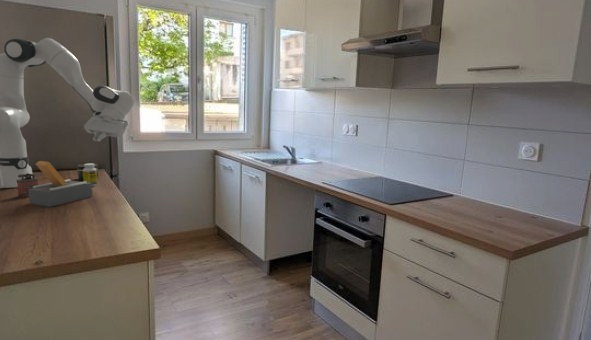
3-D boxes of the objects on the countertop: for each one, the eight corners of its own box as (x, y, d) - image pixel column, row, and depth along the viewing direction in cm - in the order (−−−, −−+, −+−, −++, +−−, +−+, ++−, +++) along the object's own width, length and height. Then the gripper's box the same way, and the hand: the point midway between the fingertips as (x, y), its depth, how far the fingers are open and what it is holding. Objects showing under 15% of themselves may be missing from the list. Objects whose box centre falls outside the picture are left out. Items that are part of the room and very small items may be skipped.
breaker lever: (53, 184, 165) (35, 164, 157) (56, 181, 166) (39, 160, 158) (63, 186, 163) (45, 165, 155) (66, 182, 164) (49, 161, 156)
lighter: (38, 193, 176) (36, 171, 175) (40, 194, 174) (38, 173, 172) (17, 196, 171) (15, 173, 169) (18, 197, 169) (16, 175, 167)
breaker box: (29, 203, 159) (27, 186, 158) (73, 193, 177) (72, 178, 176) (49, 206, 155) (47, 189, 153) (92, 196, 173) (91, 180, 172)
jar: (102, 178, 214) (101, 164, 213) (86, 181, 205) (85, 167, 204) (90, 176, 218) (89, 163, 217) (74, 179, 209) (72, 165, 208)
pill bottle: (91, 187, 191) (90, 165, 189) (80, 186, 193) (79, 164, 191) (100, 184, 197) (98, 163, 195) (89, 183, 199) (88, 162, 197)
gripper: (132, 125, 186) (117, 147, 179) (98, 120, 192) (82, 141, 184) (126, 116, 181) (110, 139, 174) (91, 112, 187) (74, 133, 179)
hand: (96, 140), depth 179 cm, fingers closed
